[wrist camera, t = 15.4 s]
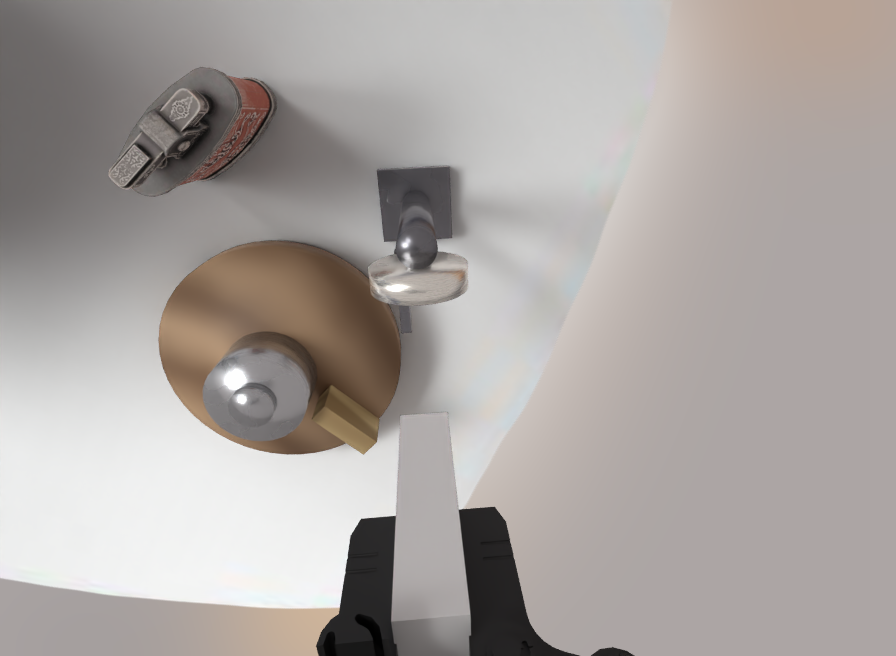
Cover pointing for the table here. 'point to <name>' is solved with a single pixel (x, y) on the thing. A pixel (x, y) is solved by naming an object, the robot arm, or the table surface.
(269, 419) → the cover
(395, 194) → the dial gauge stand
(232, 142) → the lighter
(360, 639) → the robot arm
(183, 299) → the turntable
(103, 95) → the table surface
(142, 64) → the table surface
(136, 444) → the table surface
